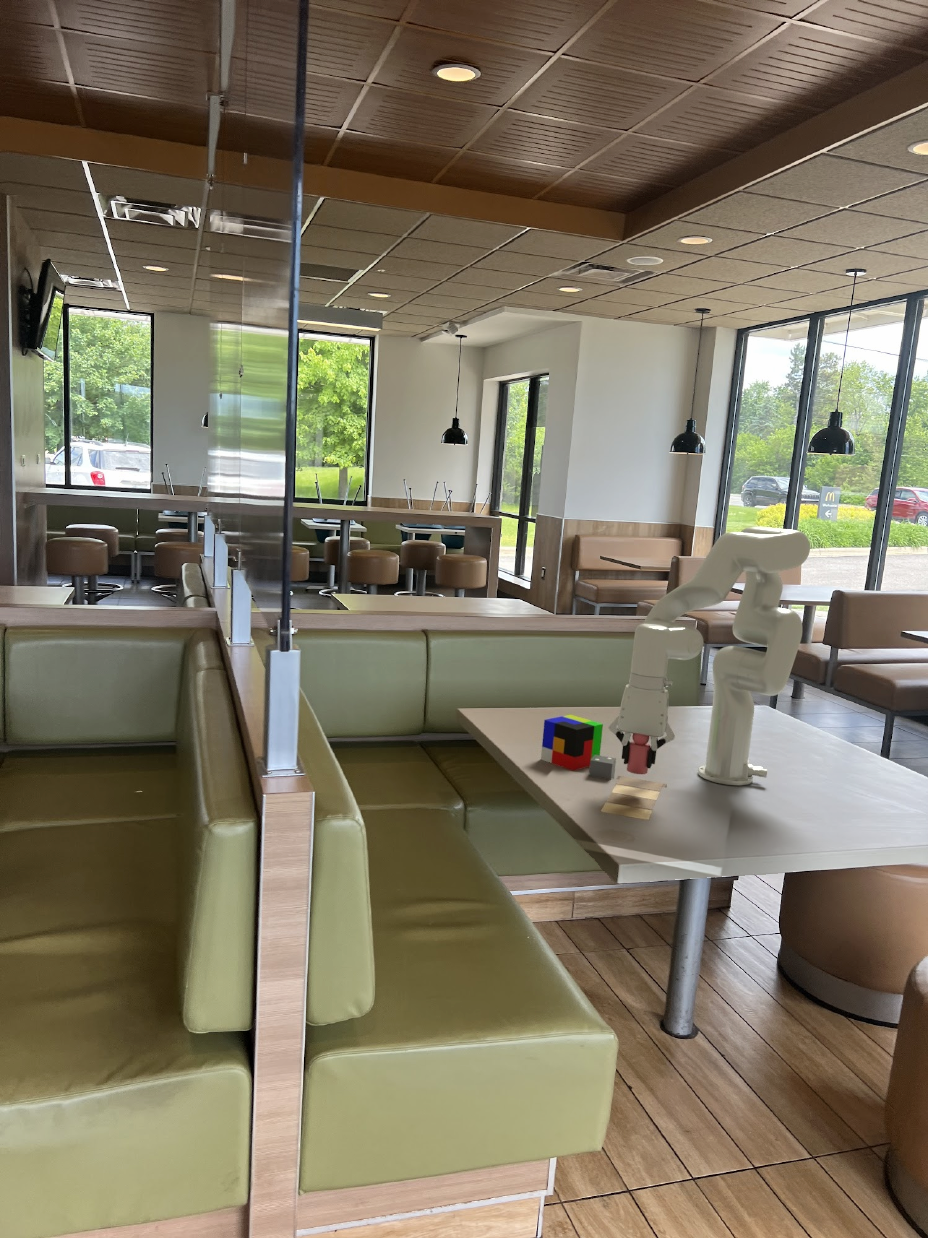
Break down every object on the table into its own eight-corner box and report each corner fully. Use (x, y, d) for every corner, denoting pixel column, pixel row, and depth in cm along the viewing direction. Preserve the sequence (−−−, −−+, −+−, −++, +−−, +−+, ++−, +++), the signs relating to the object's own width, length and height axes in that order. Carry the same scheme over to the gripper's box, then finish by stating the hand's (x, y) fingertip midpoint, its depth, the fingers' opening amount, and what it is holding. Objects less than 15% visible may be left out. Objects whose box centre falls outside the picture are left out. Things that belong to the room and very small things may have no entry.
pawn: (648, 770, 199) (653, 728, 198) (645, 775, 195) (650, 732, 194) (628, 766, 201) (633, 725, 199) (625, 772, 196) (630, 729, 195)
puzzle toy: (540, 759, 222) (544, 719, 220) (566, 753, 229) (570, 714, 227) (573, 771, 215) (577, 729, 213) (598, 764, 222) (602, 724, 220)
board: (666, 788, 207) (666, 783, 207) (650, 827, 182) (651, 822, 181) (617, 780, 210) (618, 774, 210) (596, 817, 185) (596, 811, 185)
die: (613, 779, 211) (616, 758, 210) (610, 785, 206) (612, 763, 206) (592, 775, 213) (594, 754, 212) (588, 781, 208) (590, 759, 207)
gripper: (689, 684, 196) (679, 767, 199) (611, 673, 201) (602, 754, 204) (685, 691, 189) (675, 776, 192) (605, 679, 194) (596, 762, 197)
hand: (637, 763), depth 198 cm, fingers closed on pawn, 4 cm apart
